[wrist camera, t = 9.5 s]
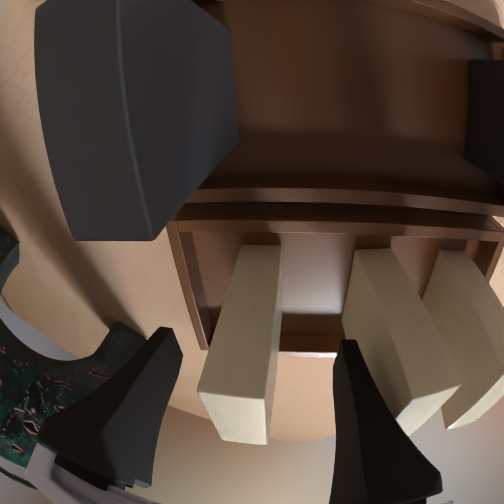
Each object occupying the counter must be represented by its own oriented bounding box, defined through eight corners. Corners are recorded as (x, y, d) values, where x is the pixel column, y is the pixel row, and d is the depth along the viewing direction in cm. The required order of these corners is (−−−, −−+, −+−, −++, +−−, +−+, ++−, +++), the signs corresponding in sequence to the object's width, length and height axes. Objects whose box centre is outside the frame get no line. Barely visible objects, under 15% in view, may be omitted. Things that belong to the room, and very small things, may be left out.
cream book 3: (465, 250, 12) (532, 364, 5) (439, 314, 15) (474, 422, 8) (438, 249, 12) (504, 374, 6) (414, 316, 15) (445, 430, 8)
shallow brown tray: (491, 215, 11) (508, 232, 9) (444, 329, 16) (451, 349, 14) (179, 203, 13) (163, 220, 12) (207, 328, 18) (200, 350, 17)
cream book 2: (390, 247, 13) (462, 384, 6) (371, 317, 15) (407, 438, 9) (354, 248, 13) (412, 399, 6) (340, 320, 16) (367, 447, 9)
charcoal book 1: (231, 31, 8) (120, -44, 2) (240, 142, 11) (154, 242, 4) (183, 38, 9) (34, 8, 2) (194, 146, 11) (72, 242, 5)
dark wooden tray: (506, 44, 5) (528, 44, 4) (494, 202, 10) (513, 218, 9) (156, 9, 8) (135, 0, 6) (176, 188, 13) (160, 204, 11)
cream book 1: (281, 244, 13) (264, 398, 7) (281, 316, 16) (267, 445, 10) (241, 243, 14) (195, 390, 7) (248, 314, 16) (221, 440, 10)
